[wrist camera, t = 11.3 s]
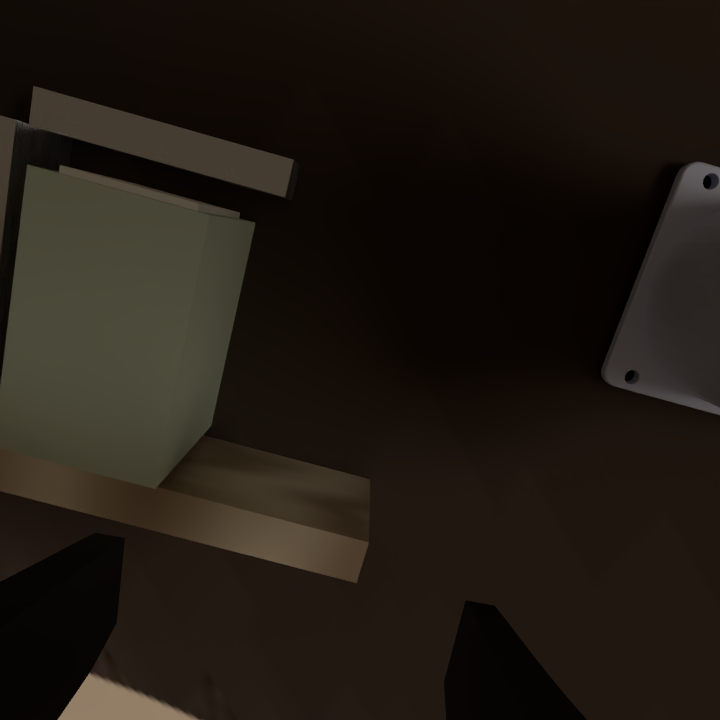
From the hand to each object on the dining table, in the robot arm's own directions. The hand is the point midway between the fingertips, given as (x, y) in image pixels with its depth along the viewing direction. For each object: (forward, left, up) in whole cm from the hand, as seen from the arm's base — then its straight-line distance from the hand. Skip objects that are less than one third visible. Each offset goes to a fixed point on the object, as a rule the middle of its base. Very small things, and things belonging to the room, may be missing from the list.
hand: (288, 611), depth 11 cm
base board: (+5, +2, -10) cm, 11 cm away
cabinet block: (+7, -3, -10) cm, 13 cm away
